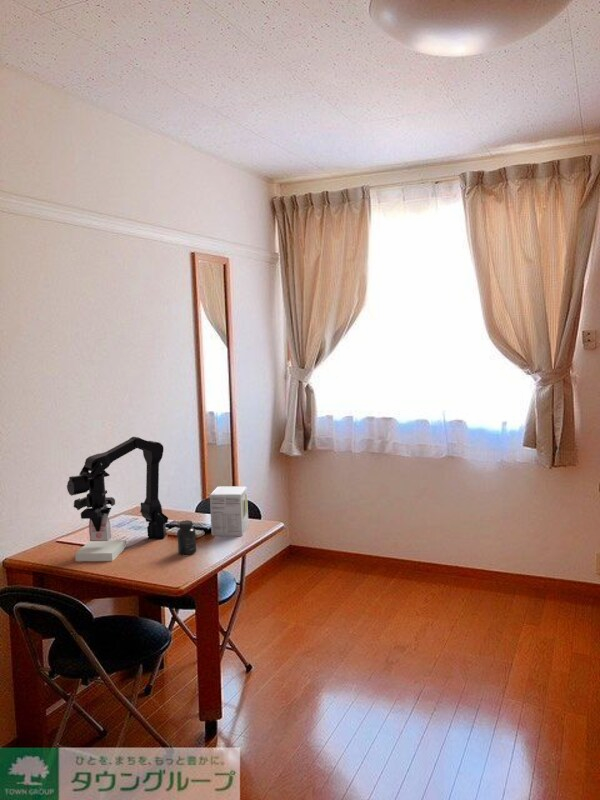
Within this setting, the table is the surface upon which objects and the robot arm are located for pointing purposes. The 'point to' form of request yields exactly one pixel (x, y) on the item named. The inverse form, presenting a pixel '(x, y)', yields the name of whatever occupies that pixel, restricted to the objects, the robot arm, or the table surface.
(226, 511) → the supplement box
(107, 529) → the white paper carton
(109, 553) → the plinth
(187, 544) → the supplement bottle
